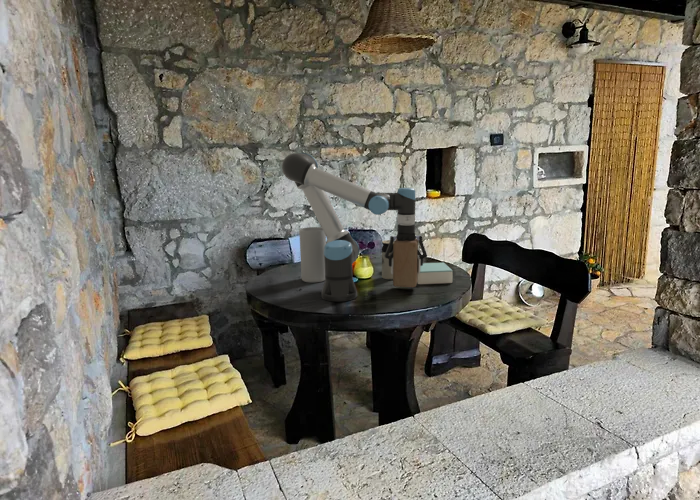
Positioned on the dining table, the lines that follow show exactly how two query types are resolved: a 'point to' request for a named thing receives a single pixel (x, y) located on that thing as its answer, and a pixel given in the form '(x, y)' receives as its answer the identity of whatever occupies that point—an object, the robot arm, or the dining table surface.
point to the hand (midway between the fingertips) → (405, 273)
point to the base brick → (434, 273)
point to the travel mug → (386, 261)
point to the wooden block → (405, 263)
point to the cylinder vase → (312, 254)
